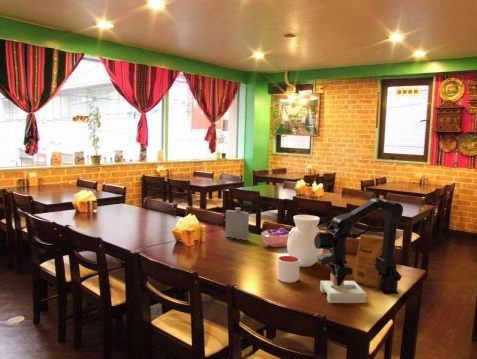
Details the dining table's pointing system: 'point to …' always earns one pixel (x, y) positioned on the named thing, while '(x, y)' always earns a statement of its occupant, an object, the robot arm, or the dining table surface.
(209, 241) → the dining table surface
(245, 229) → the hip flask
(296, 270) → the cup
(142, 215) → the dining table surface
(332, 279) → the peg
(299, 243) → the white vase
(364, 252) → the coffee package
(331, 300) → the keyhole plate
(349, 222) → the robot arm
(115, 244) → the dining table surface
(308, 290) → the dining table surface
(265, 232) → the cell model
